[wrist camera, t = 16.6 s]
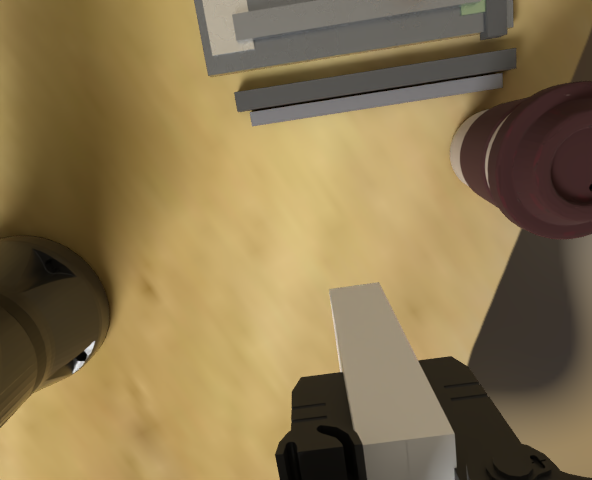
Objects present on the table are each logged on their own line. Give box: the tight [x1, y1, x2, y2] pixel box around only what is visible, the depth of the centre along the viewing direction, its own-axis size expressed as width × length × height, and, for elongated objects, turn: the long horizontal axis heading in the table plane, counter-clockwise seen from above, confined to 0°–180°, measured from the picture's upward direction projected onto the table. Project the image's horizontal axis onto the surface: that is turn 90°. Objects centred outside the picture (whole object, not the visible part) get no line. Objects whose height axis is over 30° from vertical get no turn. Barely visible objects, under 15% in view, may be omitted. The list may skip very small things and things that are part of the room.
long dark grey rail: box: [234, 48, 516, 126], centre depth 39 cm, size 24×3×2 cm, turn 98°
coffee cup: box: [450, 81, 592, 239], centre depth 34 cm, size 10×10×15 cm
